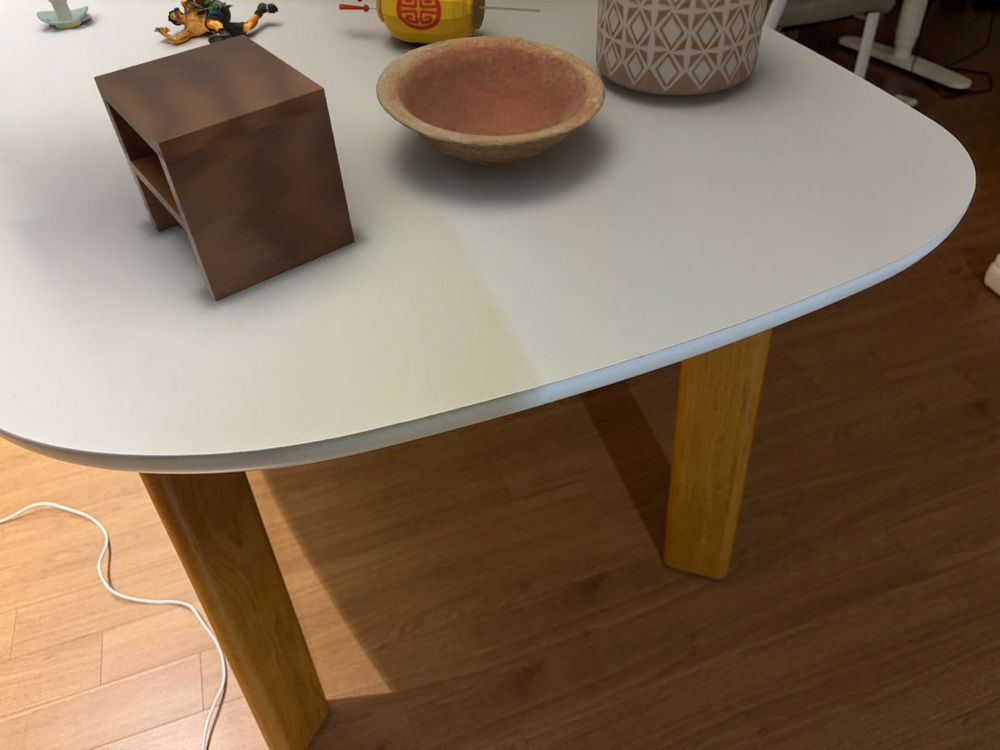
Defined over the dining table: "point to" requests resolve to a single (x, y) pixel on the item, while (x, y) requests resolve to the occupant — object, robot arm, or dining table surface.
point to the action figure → (210, 20)
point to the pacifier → (63, 15)
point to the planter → (678, 43)
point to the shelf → (232, 158)
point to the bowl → (490, 96)
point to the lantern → (430, 18)
